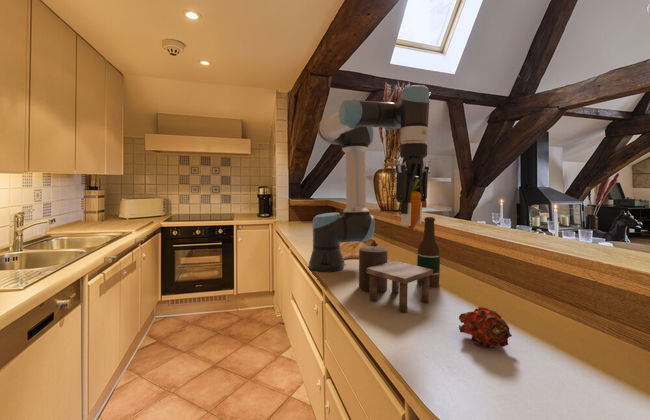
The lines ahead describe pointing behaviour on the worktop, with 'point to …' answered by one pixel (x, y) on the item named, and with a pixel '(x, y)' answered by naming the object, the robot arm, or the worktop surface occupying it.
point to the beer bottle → (429, 253)
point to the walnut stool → (400, 280)
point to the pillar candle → (369, 259)
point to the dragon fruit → (485, 327)
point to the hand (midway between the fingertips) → (411, 224)
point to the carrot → (415, 204)
